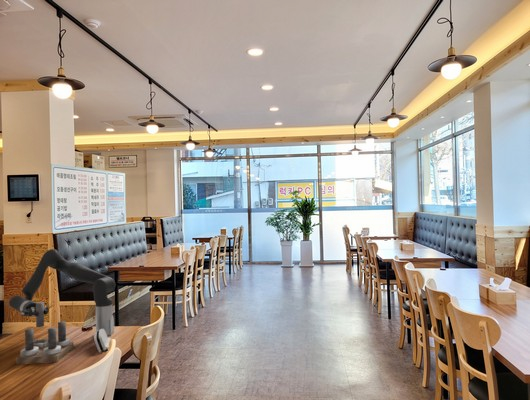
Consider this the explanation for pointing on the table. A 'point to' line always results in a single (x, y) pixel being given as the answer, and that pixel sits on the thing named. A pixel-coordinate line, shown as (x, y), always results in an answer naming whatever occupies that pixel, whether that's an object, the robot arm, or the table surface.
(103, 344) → the white arched grooved block
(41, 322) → the loose leg
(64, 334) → the upturned partly assembled table
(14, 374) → the table surface
